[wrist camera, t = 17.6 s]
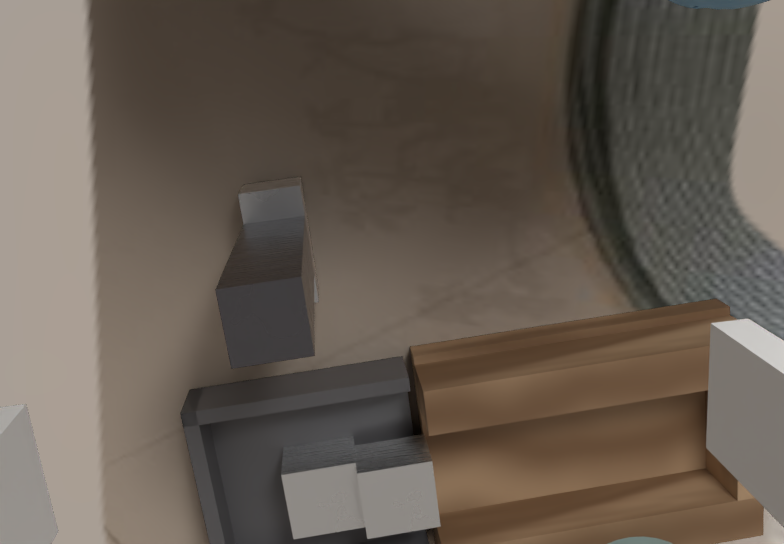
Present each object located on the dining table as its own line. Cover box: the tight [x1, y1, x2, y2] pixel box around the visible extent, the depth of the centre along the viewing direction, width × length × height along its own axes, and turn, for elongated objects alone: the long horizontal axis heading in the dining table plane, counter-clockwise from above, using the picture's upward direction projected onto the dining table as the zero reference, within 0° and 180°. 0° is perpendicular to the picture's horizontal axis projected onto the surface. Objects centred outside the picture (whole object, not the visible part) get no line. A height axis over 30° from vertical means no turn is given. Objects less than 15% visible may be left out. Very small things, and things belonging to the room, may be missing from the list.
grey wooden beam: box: [215, 177, 319, 369], centre depth 33 cm, size 6×3×14 cm, turn 7°
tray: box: [181, 356, 429, 544], centre depth 42 cm, size 12×12×3 cm
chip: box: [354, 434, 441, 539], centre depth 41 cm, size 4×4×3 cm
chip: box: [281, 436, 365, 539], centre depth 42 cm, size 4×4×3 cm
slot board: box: [410, 299, 764, 544], centre depth 42 cm, size 13×18×5 cm
